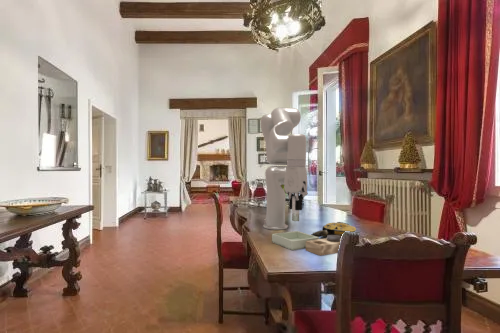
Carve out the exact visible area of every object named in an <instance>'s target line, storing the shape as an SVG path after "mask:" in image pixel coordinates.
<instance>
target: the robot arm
mask: <svg viewBox="0 0 500 333" xmlns="http://www.w3.org/2000/svg"><path fill="white" fill-rule="evenodd" d="M301 118H302V117H301V113H300V111H299V109H297V108H295V107H280V106H279V107H276V108H274V109H273V110H272V111H271V113H266V114H264V115H263V116H261V119H260V129H261V133H262V136H263V138H264V141H265V153H266V160H267V163H268V164H269V165H271V166H268V167H267V168H266V169H265V171H264V172H265V173H264V174H265V182H266V183H265V185H266V216H265V218H263V220H264V221H265V223H264V224H263V229H267V230H275V231H276V230H277V231H278V230H287V229H288V228H289V225H288V224H286V194H287V196H288V200H289V210H292V196H296V200H295V210H299V211H302V210H303V201H304V199H305V197H306V196H307V195H308V172H307V168H306V166H307V162H306V161H307V137H306V135H305V134H304V133H303V134H302V133H293V134H291V133H292V131H293V130H294V128H296V127H297V126H298V125H299V124H300V122H301ZM282 185H283V187H282Z"/></svg>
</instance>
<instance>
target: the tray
mask: <svg viewBox="0 0 500 333" xmlns="http://www.w3.org/2000/svg"><path fill="white" fill-rule="evenodd" d="M317 239H320V237H316V236H313V235H311V234H309V233H306V232H302V231H299V230H293V231H284V232H277V233H271V243H272V244H275V245H278V246H280V247H283V248H286V249H288V250H289V251H297V250H303V249H306V241H310V240H317Z"/></svg>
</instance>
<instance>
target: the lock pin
mask: <svg viewBox="0 0 500 333" xmlns="http://www.w3.org/2000/svg"><path fill="white" fill-rule="evenodd" d="M295 200H296V196H292V209H291V222H300V210H295Z"/></svg>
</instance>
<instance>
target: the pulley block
mask: <svg viewBox="0 0 500 333" xmlns="http://www.w3.org/2000/svg"><path fill="white" fill-rule="evenodd" d="M345 231H350V232H356V233H355V234H358V233H360V231H357V228H356V227H355V226H354V225H350V224H348V223H346V222H342V221H337V222H328V223H326V224H324V225H323V226H322V229H320V230H318V231H315V232H312V234H310V235H313V236H316V237H319V238H321V237H324V238H327V235H338V236H340V239H342V238H341V236H342V234H343V233H344V232H345Z"/></svg>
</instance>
